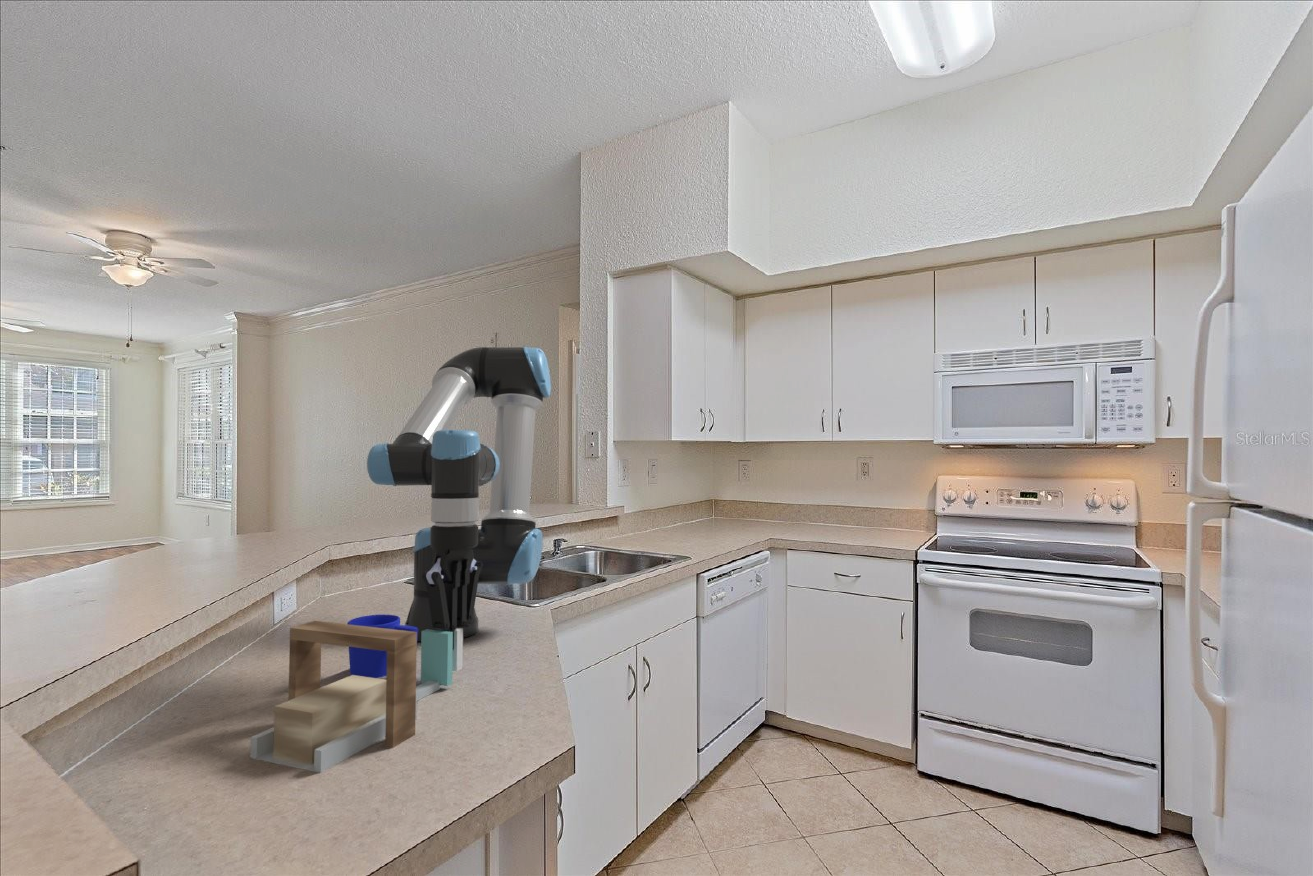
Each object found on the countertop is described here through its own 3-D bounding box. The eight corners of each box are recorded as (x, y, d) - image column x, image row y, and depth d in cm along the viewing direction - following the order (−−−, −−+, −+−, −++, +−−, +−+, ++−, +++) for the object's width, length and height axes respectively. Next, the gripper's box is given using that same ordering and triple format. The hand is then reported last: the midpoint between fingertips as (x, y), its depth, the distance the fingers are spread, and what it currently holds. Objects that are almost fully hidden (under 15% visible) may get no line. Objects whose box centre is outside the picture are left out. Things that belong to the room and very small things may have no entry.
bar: (351, 719, 88) (352, 674, 88) (386, 725, 86) (387, 679, 86) (273, 757, 76) (274, 706, 76) (311, 765, 74) (312, 713, 74)
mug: (401, 692, 101) (402, 628, 102) (334, 686, 104) (336, 624, 104) (429, 675, 109) (430, 616, 110) (367, 670, 112) (368, 613, 112)
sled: (410, 687, 102) (411, 627, 102) (468, 695, 98) (468, 633, 99) (250, 764, 76) (252, 684, 76) (320, 779, 72) (322, 695, 73)
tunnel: (312, 726, 88) (315, 620, 89) (415, 744, 83) (416, 632, 83) (287, 737, 85) (290, 627, 85) (392, 758, 79) (394, 640, 79)
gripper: (460, 519, 112) (458, 655, 111) (408, 526, 100) (405, 679, 99) (496, 521, 109) (495, 659, 108) (448, 528, 97) (446, 684, 96)
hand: (452, 668), depth 103 cm, fingers closed
